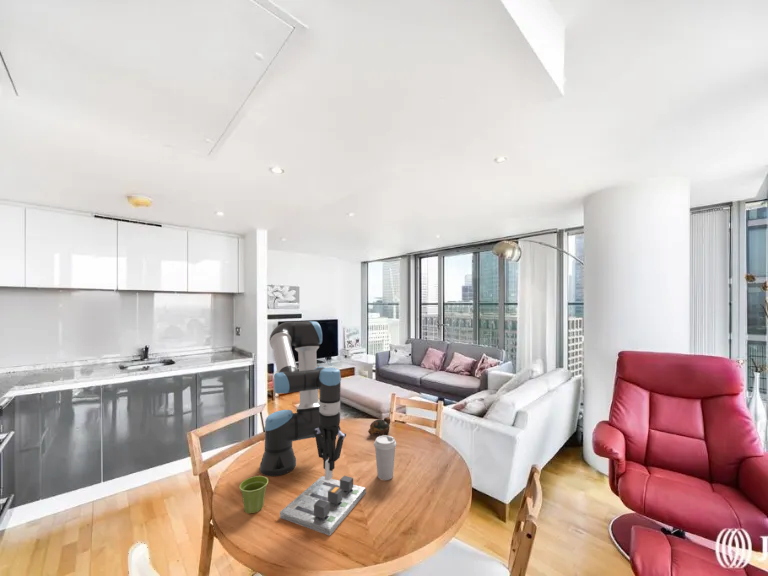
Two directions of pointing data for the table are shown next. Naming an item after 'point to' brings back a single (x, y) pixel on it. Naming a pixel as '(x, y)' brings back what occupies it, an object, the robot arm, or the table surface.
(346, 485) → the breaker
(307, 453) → the table surface
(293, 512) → the panel
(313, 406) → the robot arm
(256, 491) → the plant pot
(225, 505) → the table surface
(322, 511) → the block
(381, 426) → the decorative turtle
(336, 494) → the breaker
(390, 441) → the coffee cup
